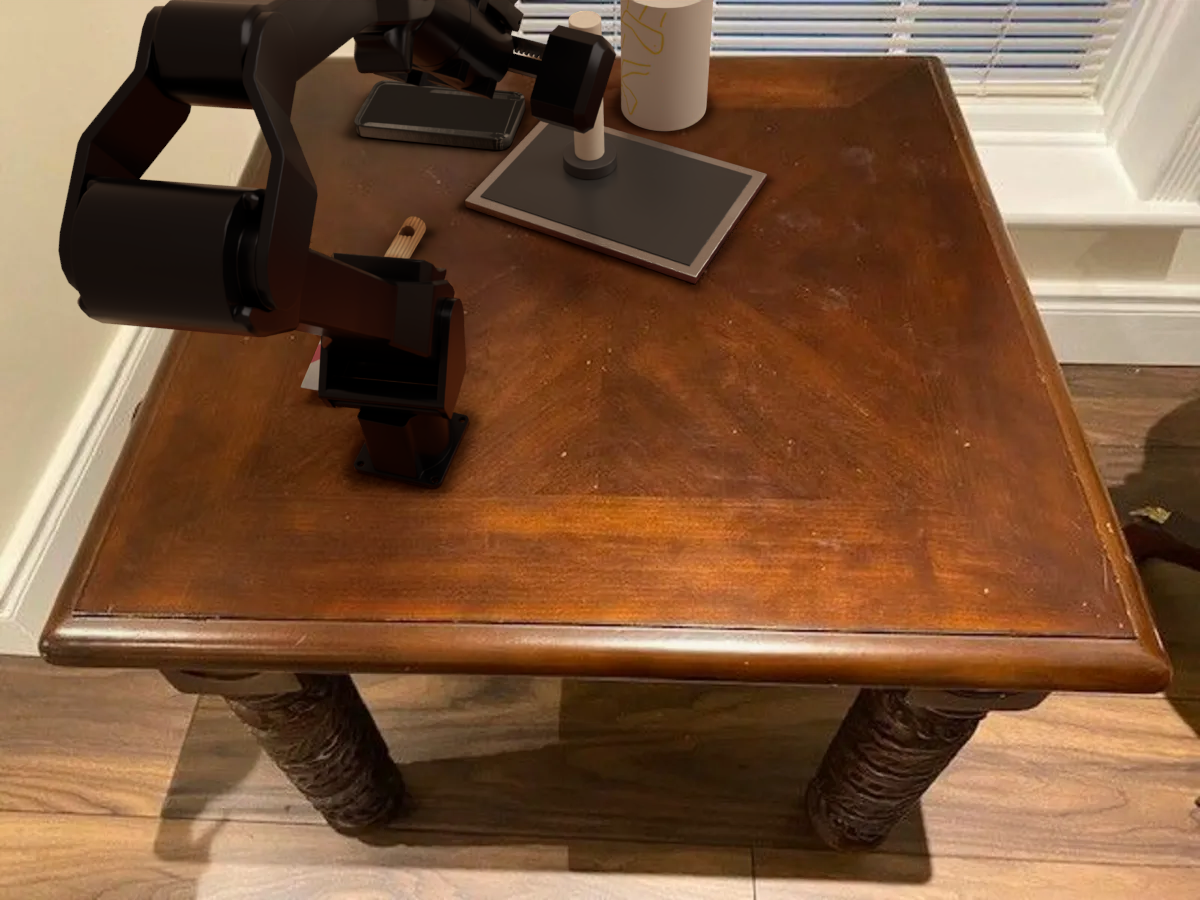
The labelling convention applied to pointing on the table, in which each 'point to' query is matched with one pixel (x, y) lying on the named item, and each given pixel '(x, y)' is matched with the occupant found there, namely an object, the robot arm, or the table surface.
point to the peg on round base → (591, 150)
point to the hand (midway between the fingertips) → (529, 88)
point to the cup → (665, 62)
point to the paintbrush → (399, 249)
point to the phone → (440, 115)
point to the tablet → (623, 199)
